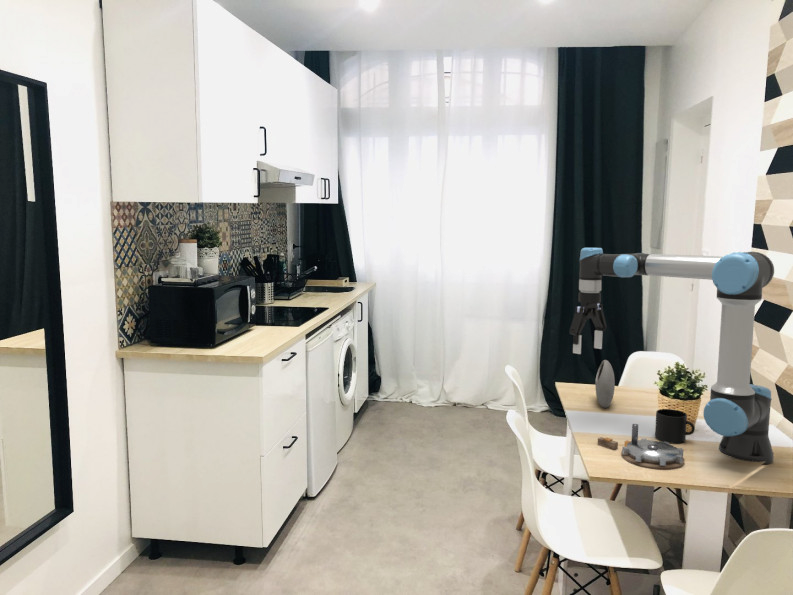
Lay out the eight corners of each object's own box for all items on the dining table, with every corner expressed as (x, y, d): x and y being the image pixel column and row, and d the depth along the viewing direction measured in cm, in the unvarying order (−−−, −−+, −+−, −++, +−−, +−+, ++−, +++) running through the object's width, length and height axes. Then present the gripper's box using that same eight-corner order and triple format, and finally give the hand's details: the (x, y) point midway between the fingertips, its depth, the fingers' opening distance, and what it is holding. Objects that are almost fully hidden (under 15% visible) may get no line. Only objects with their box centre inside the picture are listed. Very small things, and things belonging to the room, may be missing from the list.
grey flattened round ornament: (593, 400, 257) (595, 355, 255) (611, 401, 255) (613, 356, 253) (595, 413, 239) (597, 365, 237) (615, 414, 237) (617, 366, 235)
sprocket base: (694, 459, 192) (694, 456, 192) (667, 474, 181) (667, 472, 181) (639, 444, 206) (639, 441, 206) (610, 457, 194) (610, 454, 194)
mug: (692, 447, 203) (693, 420, 202) (652, 440, 209) (653, 414, 208) (695, 439, 211) (697, 412, 210) (657, 432, 217) (658, 407, 216)
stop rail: (617, 449, 201) (618, 440, 200) (614, 450, 200) (614, 442, 199) (600, 444, 205) (601, 435, 205) (597, 445, 204) (597, 437, 204)
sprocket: (694, 455, 192) (696, 430, 191) (667, 470, 181) (668, 443, 180) (639, 440, 206) (640, 416, 205) (610, 453, 194) (611, 428, 193)
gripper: (599, 288, 232) (597, 345, 234) (560, 293, 215) (558, 353, 218) (618, 290, 226) (615, 347, 228) (579, 295, 210) (577, 357, 212)
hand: (587, 351), depth 223 cm, fingers open, 13 cm apart
